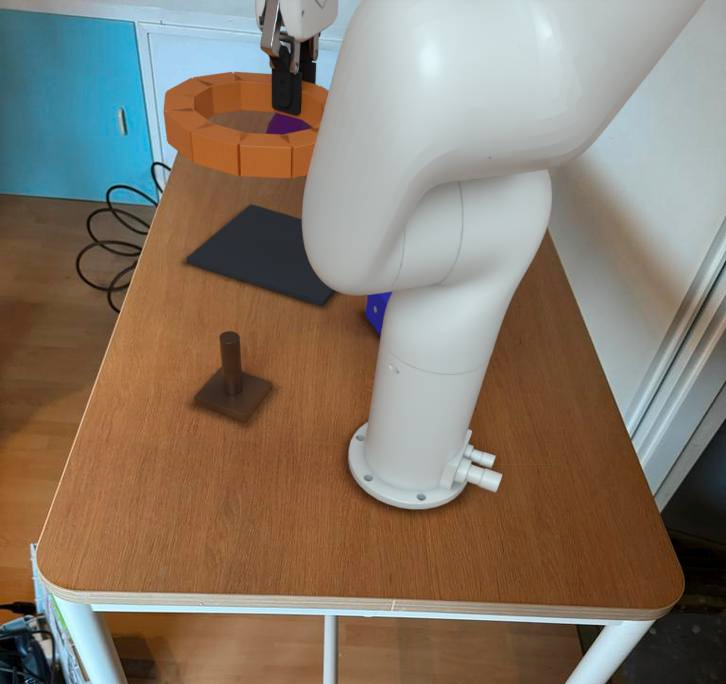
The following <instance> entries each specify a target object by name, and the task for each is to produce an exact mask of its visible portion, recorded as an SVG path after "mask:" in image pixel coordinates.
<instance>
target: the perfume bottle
mask: <svg viewBox="0 0 726 684" xmlns="http://www.w3.org/2000/svg"><path fill="white" fill-rule="evenodd" d="M281 31H282V32H286V33H287V31H286V30H281ZM282 43H283V44H282V45H284V46H287V48H288V50H289V51H290V43H286V42H282ZM307 129H312V126H311V125H309V124H307V123H306V122H304V121H303V120H301V119H297V118H294V117H290V116H286V115H283V114H279V113H275V112H274V114H273V116H272V117H271V119H270V120H269V122H268V124H267V128H266V131H265V134H280V135H283V134H288V133H293V132H298V131H302V130H307Z"/></svg>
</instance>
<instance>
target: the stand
mask: <svg viewBox="0 0 726 684" xmlns="http://www.w3.org/2000/svg"><path fill="white" fill-rule="evenodd" d="M218 338H219V350H220V361H221V366H220V367H219V369H218V370H217V371H216V372H215V373H214V374H213V375H212V376H211V377H210V378H209V380H208V381H206V383H205V384H204V385H203V386H202V388H200V390H198V392H197V393H196V394H195V395H194V397H193V399H194V405H195V406H198V407H200V408H203V409H206V410H208V411H211V412H214V413H216V414H218V415H222V416H225V417H228V418H230V419H233V420H236V421H239V422H241V423H243V424H246V423H247V422H248V420H249V419H250V417H251V416H252V415H253V414H254V412H255V411H256V409H257V408H258V407H259V406H260V404H261V403H262V402H263V400H265V398H266V397H267V395H268V394H269V393H270V392H271V390H272V382H271V381H270V380H266V379H265V378H261V377H258V376H255V375H252V374H249V373H246V372H243V369H242V352H241V351H242V350H241V349H242V348H241V337H240V334H239V333H238V332H235V331H232V330H227V331H223V332H222V333H220V335H219V336H218Z"/></svg>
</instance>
